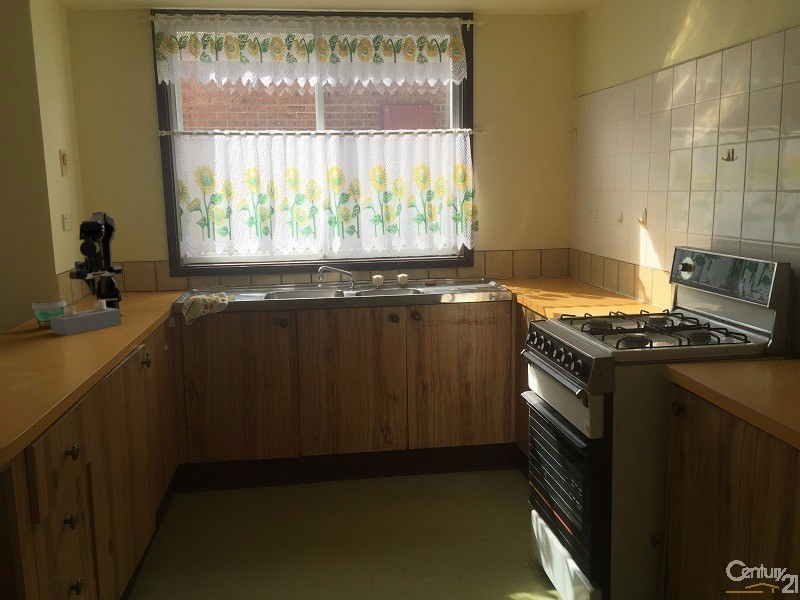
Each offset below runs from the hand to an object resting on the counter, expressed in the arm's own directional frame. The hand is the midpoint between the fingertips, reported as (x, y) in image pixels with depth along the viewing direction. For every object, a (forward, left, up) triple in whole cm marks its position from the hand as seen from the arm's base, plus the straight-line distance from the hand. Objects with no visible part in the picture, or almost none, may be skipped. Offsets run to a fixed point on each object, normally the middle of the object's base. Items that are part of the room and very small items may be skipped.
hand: (98, 294), depth 272 cm
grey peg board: (+6, 0, -12) cm, 13 cm away
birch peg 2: (0, 0, -8) cm, 8 cm away
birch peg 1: (+12, 0, -8) cm, 15 cm away
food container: (+12, -15, -12) cm, 23 cm away
